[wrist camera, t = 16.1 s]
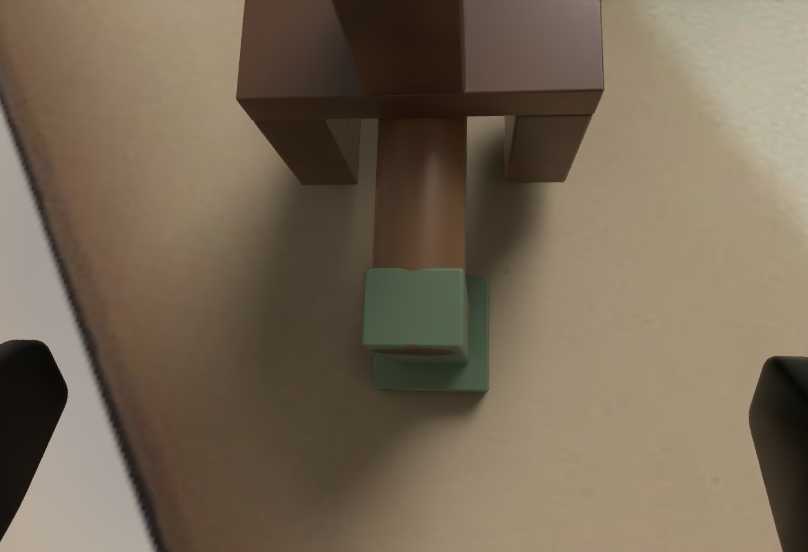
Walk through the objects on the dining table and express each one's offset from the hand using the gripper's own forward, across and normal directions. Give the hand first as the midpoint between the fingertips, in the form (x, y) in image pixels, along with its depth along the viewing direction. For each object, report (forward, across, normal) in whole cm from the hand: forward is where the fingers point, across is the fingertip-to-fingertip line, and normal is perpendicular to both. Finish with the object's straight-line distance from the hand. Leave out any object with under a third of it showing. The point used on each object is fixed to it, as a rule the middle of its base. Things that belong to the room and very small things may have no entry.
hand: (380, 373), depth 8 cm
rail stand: (+12, 0, +2) cm, 12 cm away
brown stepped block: (+11, 0, +1) cm, 11 cm away
